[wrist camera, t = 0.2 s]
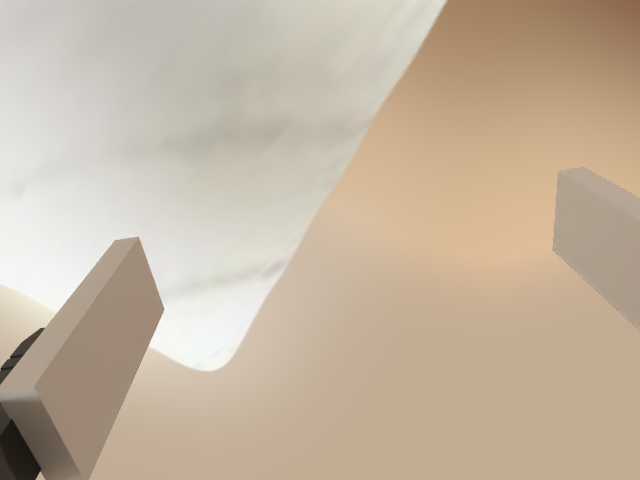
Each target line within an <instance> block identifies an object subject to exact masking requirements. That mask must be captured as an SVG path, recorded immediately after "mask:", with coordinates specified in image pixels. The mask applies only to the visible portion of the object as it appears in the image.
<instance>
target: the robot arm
mask: <svg viewBox="0 0 640 480" xmlns="http://www.w3.org/2000/svg"><path fill="white" fill-rule="evenodd" d="M553 239H554V240H553V251H554V252H555V253H556V254H557V255H559V256H560V257H561V258H562V259H563V260H564V261H565V262H566V263H567V264H568V265H569V266H570V267H572V268H573V269H574V270H575V271H576V272H577V273H578V274H579V275H580V276H581V277H582V278H583V279H584V280H585V281H587V282H588V283H589V284H590V285H591V286H592V287H593V288H594V289H595V290H596V291H597V292H598V293H599V294H600V295H602V296H603V297H604V298H605V299H606V300H607V301H608V302H609V303H610V304H611V305H612V306H613V307H614V308H616V309H617V310H618V311H619V312H620V313H621V314H622V315H623V316H624V317H625V318H626V319H627V320H628V321H630V322H631V323H632V324H633V325H634V326H635V327H636V328H637V329H638V330H639V331H640V197H638V196H636V195H634V194H632V193H631V192H629V191H627V190H625V189H623V188H621V187H620V186H618V185H616V184H614V183H612V182H610V181H608V180H607V179H605V178H603V177H601V176H599V175H597V174H595V173H594V172H592V171H590V170H588V169H586V168H584V167H579V168H573V169H566V170H560V171H558V181H557V194H556V209H555V225H554V238H553ZM163 311H164V307H163V304H162V301H161V299H160V296H159V293H158V290H157V287H156V284H155V281H154V279H153V276H152V273H151V270H150V267H149V264H148V261H147V259H146V256H145V253H144V250H143V247H142V244H141V242H140V239H139V237H134V238H128V239H121V240H115V241H114V242H113V244H112V245H111V246H110V247H109V249H108V250H107V251H106V252H105V254H104V255H103V256H102V257H101V259H100V260H99V261H98V262H97V264H96V265H95V266H94V267H93V269H92V270H91V271H90V273H89V274H88V275H87V276H86V278H85V279H84V280H83V281H82V283H81V284H80V285H79V286H78V288H77V289H76V290H75V291H74V293H73V294H72V295H71V296H70V298H69V299H68V300H67V301H66V303H65V304H64V305H63V307H62V308H61V309H60V310H59V312H58V313H57V314H56V315H55V317H54V318H53V319H52V320H51V322H50V323H49V324H48V326H47V327H46V328H40V329H39V330H38V331H36V332H35V333H34V334H32V335H31V336H30V337H28V338H27V339H26V340H24V341H23V342H22V343H21V344H20V345H19V346H18V348H17V349H16V350H15V351H14V353H13V354H12V355H11V356H10V359H8V360H7V361H6V362H5V363H4V364H3V366H2V367H1V371H0V480H35V479H36V478H37V476H38V474H39V472H40V471H41V473H42V474H43V476H44V478H45V479H46V480H89V478H90V476H91V474H92V471H93V469H94V467H95V464H96V462H97V460H98V458H99V456H100V453H101V451H102V449H103V446H104V444H105V442H106V440H107V437H108V435H109V433H110V431H111V429H112V426H113V424H114V422H115V419H116V417H117V415H118V413H119V410H120V408H121V406H122V404H123V402H124V399H125V397H126V395H127V392H128V390H129V388H130V386H131V384H132V381H133V379H134V377H135V374H136V372H137V370H138V368H139V366H140V363H141V361H142V359H143V356H144V354H145V352H146V350H147V348H148V345H149V343H150V341H151V339H152V336H153V334H154V332H155V330H156V327H157V325H158V323H159V321H160V318H161V316H162V314H163Z"/></svg>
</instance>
